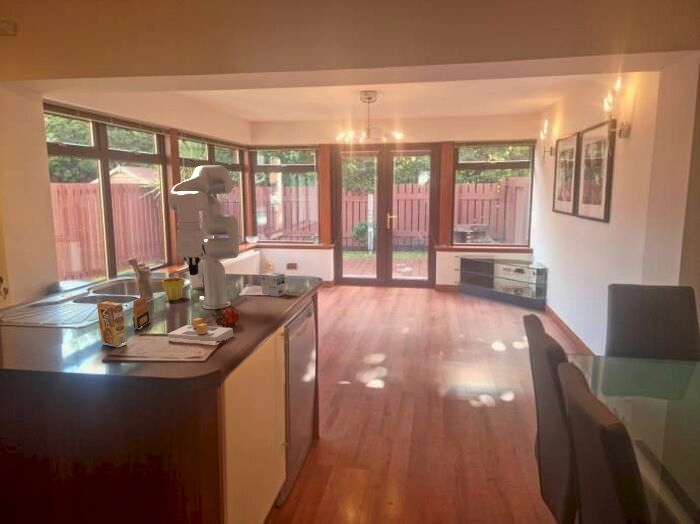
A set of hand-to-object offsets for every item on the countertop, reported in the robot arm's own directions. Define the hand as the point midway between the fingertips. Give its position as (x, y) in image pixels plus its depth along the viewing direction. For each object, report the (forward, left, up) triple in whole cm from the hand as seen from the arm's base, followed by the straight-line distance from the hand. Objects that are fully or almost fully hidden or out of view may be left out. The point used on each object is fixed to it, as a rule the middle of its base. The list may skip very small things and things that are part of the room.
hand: (194, 274), depth 182 cm
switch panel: (+7, -9, -22) cm, 25 cm away
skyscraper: (-50, +70, -22) cm, 89 cm away
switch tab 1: (+4, -6, -19) cm, 20 cm away
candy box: (-20, -22, -22) cm, 37 cm away
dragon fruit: (+9, +7, -22) cm, 25 cm away
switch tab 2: (+10, -12, -19) cm, 24 cm away
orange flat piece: (-27, 0, -22) cm, 35 cm away
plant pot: (-46, +45, -22) cm, 68 cm away
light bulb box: (+1, +62, -22) cm, 66 cm away
